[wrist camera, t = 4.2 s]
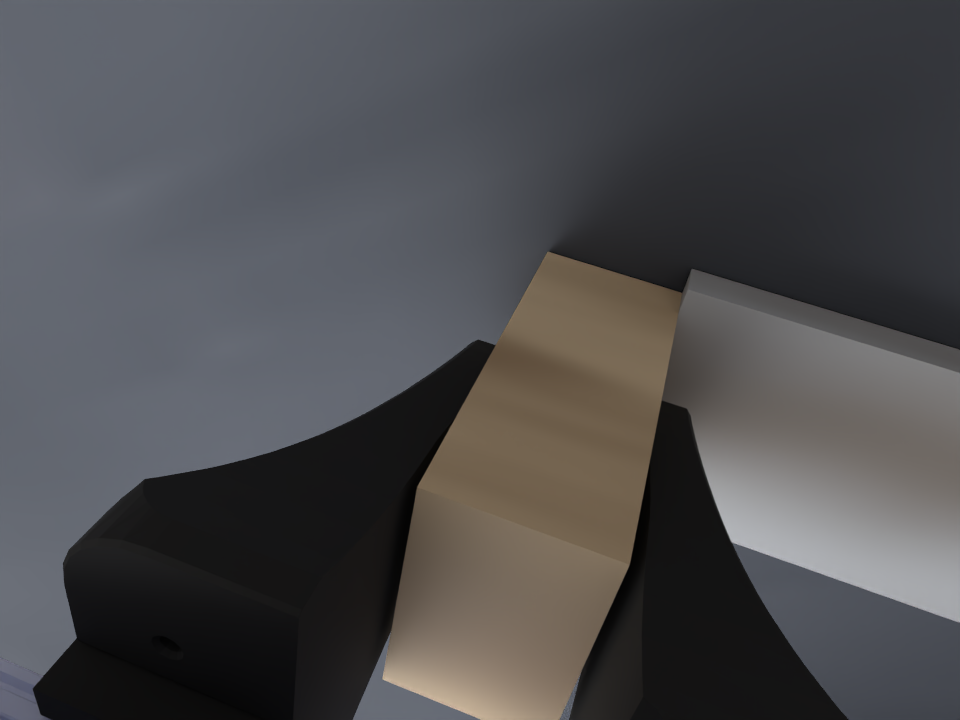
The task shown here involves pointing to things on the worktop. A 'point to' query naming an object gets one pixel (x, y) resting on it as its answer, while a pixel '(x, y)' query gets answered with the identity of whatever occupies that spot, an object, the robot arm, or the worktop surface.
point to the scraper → (625, 461)
